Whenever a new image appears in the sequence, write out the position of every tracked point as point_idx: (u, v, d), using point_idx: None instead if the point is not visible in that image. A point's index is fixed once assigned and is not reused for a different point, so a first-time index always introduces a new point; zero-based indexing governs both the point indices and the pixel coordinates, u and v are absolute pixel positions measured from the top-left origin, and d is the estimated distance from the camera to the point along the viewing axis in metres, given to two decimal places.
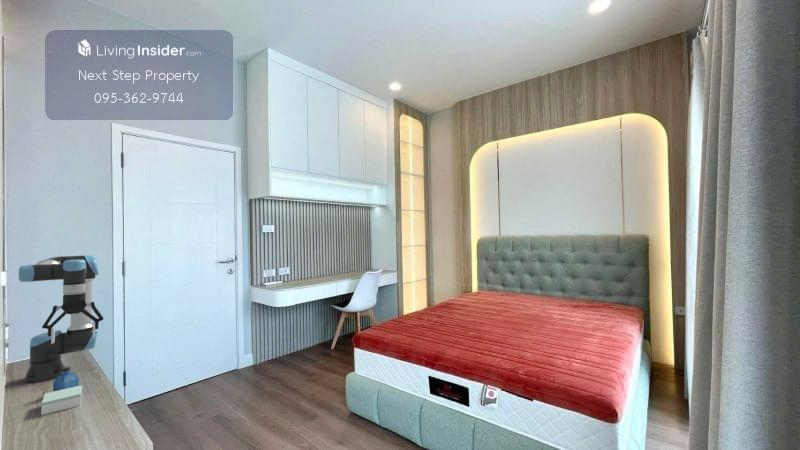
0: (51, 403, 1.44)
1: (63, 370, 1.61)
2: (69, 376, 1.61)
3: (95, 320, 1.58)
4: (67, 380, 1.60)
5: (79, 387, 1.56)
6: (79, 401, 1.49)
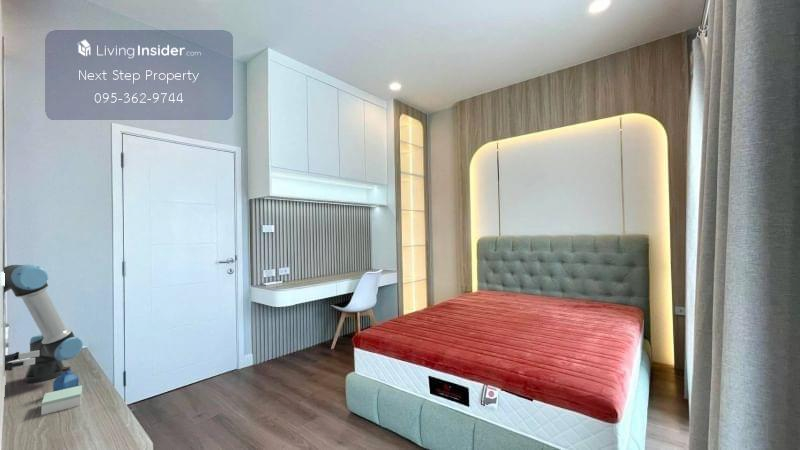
0: (51, 403, 1.44)
1: (63, 370, 1.61)
2: (69, 376, 1.61)
3: None
4: (67, 380, 1.60)
5: (79, 387, 1.56)
6: (79, 401, 1.49)
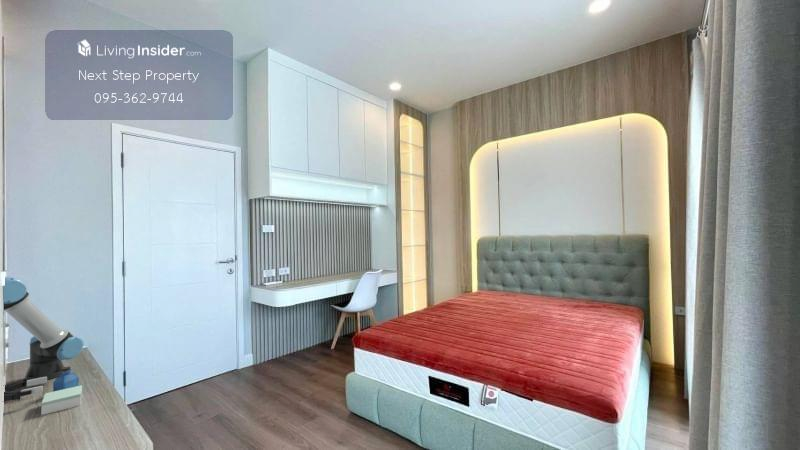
0: (51, 403, 1.44)
1: (63, 370, 1.61)
2: (69, 376, 1.61)
3: None
4: (67, 380, 1.60)
5: (79, 387, 1.56)
6: (79, 401, 1.49)
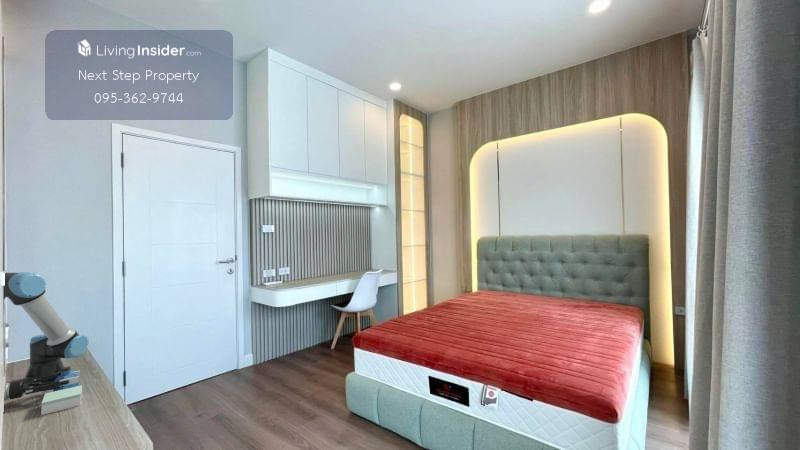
0: (51, 403, 1.44)
1: (63, 370, 1.61)
2: (69, 376, 1.61)
3: None
4: None
5: (79, 387, 1.56)
6: (79, 401, 1.49)
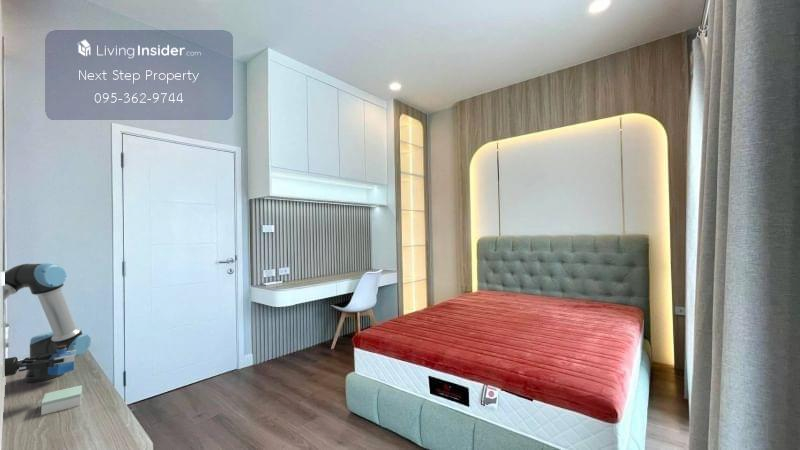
0: (51, 403, 1.44)
1: (58, 348, 1.56)
2: (64, 354, 1.56)
3: None
4: None
5: (79, 387, 1.56)
6: (79, 401, 1.49)
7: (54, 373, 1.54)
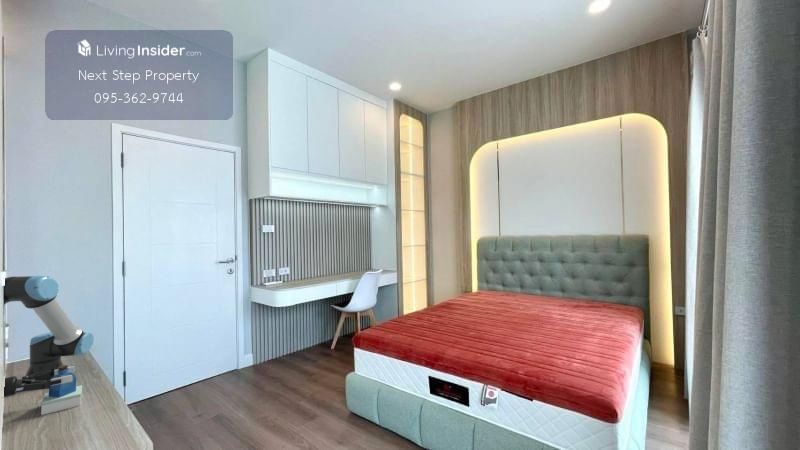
0: (51, 403, 1.44)
1: (59, 369, 1.49)
2: (66, 375, 1.50)
3: None
4: None
5: (79, 387, 1.56)
6: (79, 401, 1.49)
7: (55, 395, 1.47)
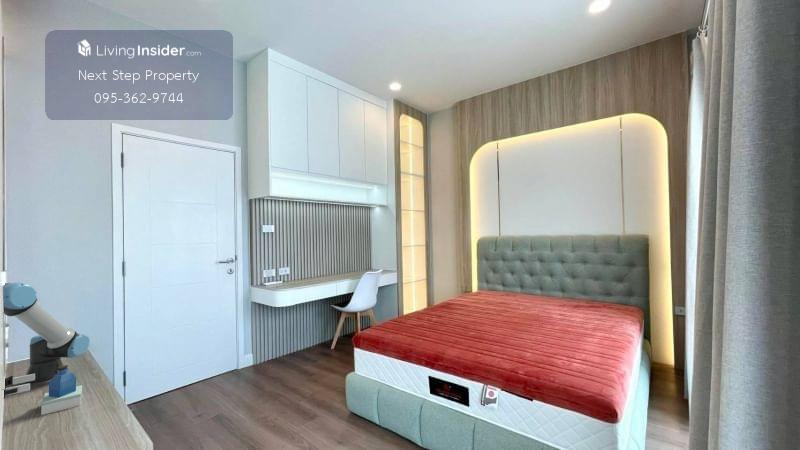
0: (51, 403, 1.44)
1: (59, 369, 1.49)
2: (66, 375, 1.50)
3: None
4: (64, 380, 1.48)
5: (79, 387, 1.56)
6: (79, 401, 1.49)
7: (55, 395, 1.47)
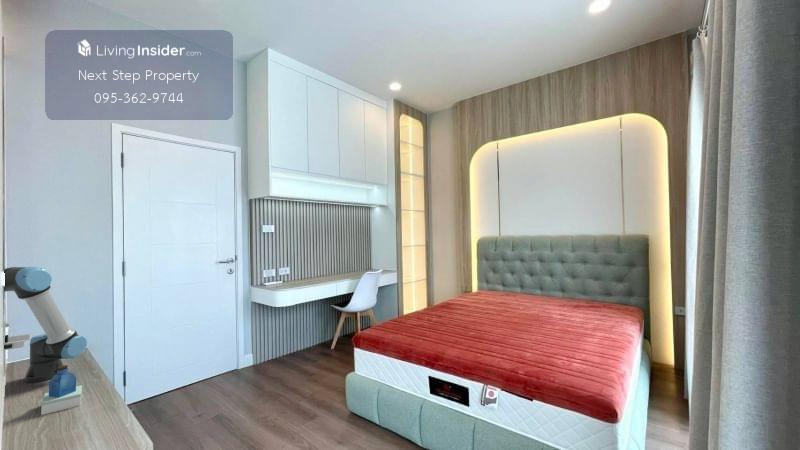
0: (51, 403, 1.44)
1: (59, 369, 1.49)
2: (66, 375, 1.50)
3: None
4: (64, 380, 1.48)
5: (79, 387, 1.56)
6: (79, 401, 1.49)
7: (55, 395, 1.47)
